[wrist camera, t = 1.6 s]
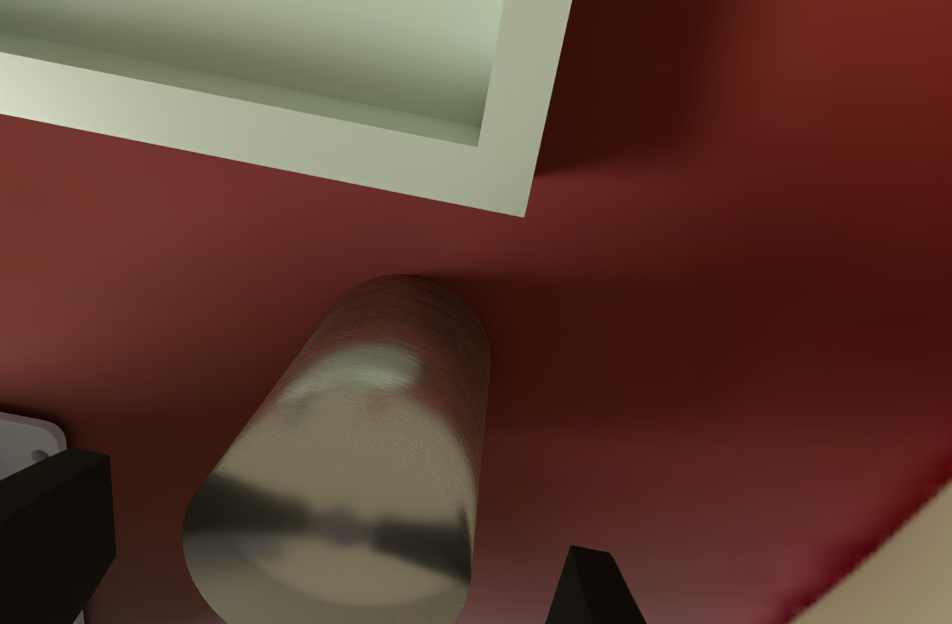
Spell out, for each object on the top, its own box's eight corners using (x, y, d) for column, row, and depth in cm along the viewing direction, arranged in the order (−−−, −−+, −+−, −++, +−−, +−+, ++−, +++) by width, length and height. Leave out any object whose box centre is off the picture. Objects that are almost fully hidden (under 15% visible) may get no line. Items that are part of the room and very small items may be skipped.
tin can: (474, 442, 17) (445, 689, 10) (314, 411, 17) (183, 638, 10) (506, 294, 15) (496, 478, 8) (328, 259, 15) (181, 416, 8)
